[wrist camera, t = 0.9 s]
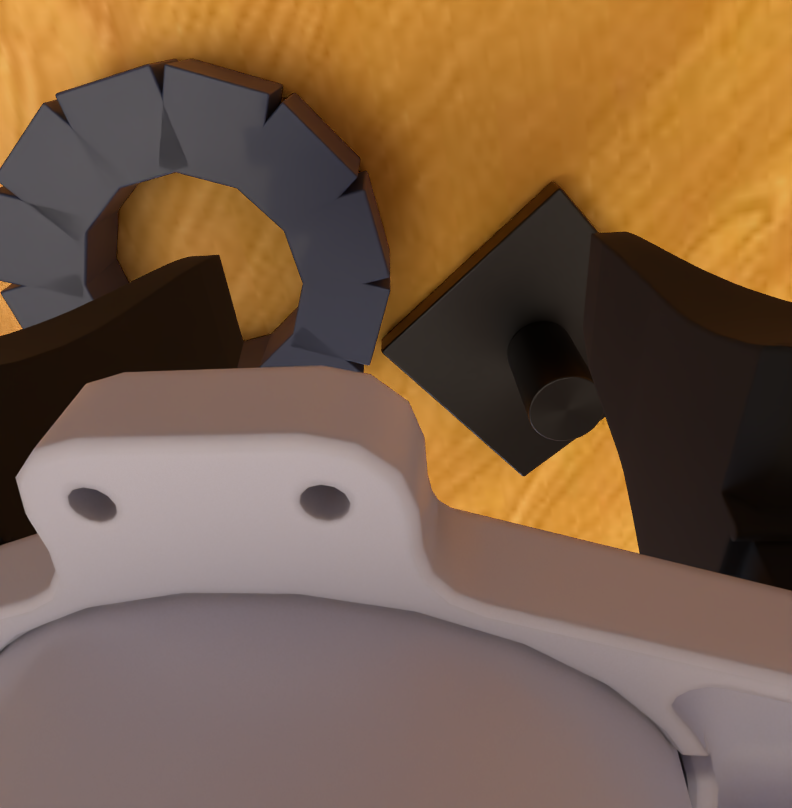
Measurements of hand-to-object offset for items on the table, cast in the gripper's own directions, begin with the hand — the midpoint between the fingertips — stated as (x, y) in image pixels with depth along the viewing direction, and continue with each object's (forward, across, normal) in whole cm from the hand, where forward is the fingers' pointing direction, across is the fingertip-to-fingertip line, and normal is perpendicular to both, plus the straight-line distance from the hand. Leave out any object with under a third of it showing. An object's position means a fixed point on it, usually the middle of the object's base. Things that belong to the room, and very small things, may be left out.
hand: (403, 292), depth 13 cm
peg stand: (+12, -4, +8) cm, 15 cm away
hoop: (+11, +8, +4) cm, 14 cm away
